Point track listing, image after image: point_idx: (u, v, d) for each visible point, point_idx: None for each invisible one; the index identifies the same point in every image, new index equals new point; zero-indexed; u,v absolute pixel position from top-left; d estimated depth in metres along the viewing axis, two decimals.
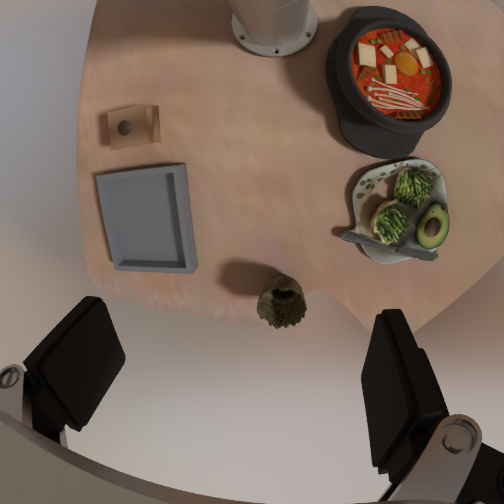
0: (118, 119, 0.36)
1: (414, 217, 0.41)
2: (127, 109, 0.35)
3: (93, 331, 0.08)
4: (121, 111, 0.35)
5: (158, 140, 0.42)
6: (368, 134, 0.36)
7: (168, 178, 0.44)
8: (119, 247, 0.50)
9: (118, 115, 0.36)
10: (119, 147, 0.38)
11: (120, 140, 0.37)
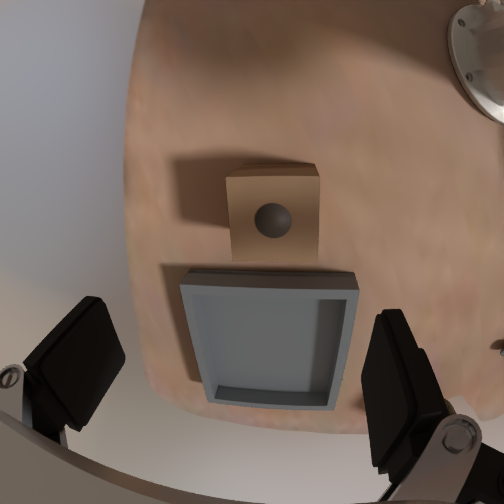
0: (258, 199, 0.19)
1: None
2: (283, 180, 0.18)
3: (93, 331, 0.08)
4: (266, 181, 0.18)
5: None
6: None
7: None
8: (214, 374, 0.33)
9: (257, 188, 0.18)
10: (256, 259, 0.21)
11: (258, 245, 0.20)
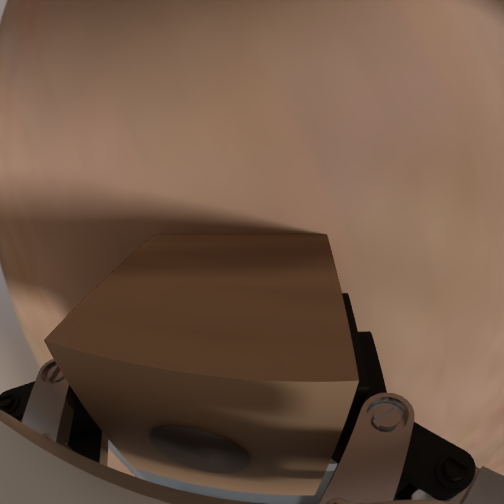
0: (143, 411, 0.05)
1: None
2: (211, 387, 0.04)
3: None
4: (151, 380, 0.04)
5: None
6: None
7: None
8: (172, 485, 0.19)
9: (129, 388, 0.05)
10: (177, 478, 0.07)
11: (176, 469, 0.06)
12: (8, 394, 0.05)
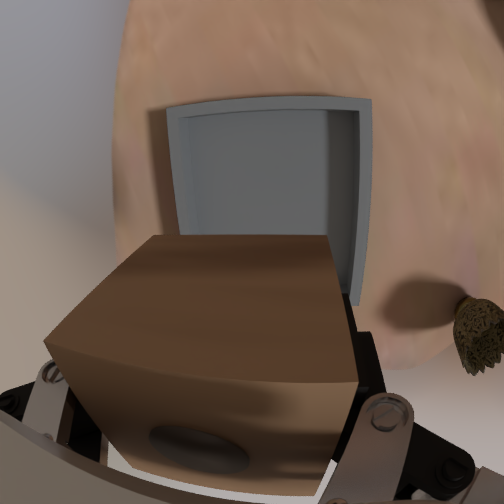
0: (143, 412, 0.05)
1: None
2: (210, 388, 0.04)
3: None
4: (150, 381, 0.04)
5: None
6: None
7: (331, 124, 0.21)
8: None
9: (129, 389, 0.05)
10: (177, 479, 0.07)
11: (175, 470, 0.06)
12: (8, 394, 0.05)
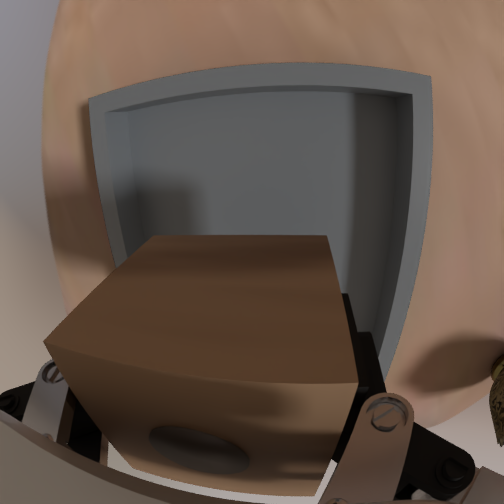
0: (143, 413, 0.05)
1: None
2: (210, 389, 0.04)
3: None
4: (151, 382, 0.04)
5: None
6: None
7: (360, 116, 0.12)
8: None
9: (129, 390, 0.05)
10: (177, 479, 0.07)
11: (175, 470, 0.06)
12: (8, 394, 0.05)
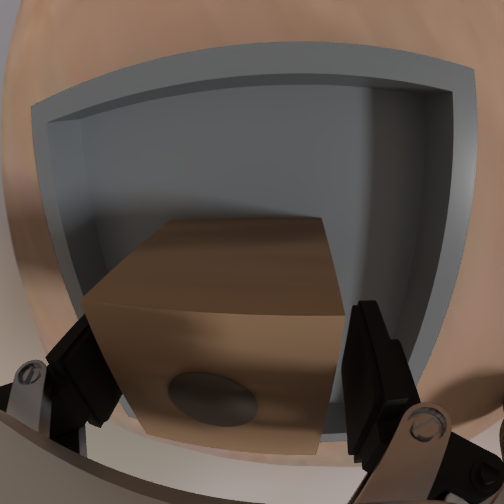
0: (166, 360, 0.06)
1: None
2: (227, 325, 0.06)
3: None
4: (177, 324, 0.06)
5: None
6: None
7: (378, 119, 0.09)
8: None
9: (156, 336, 0.06)
10: (189, 441, 0.08)
11: (189, 428, 0.08)
12: None
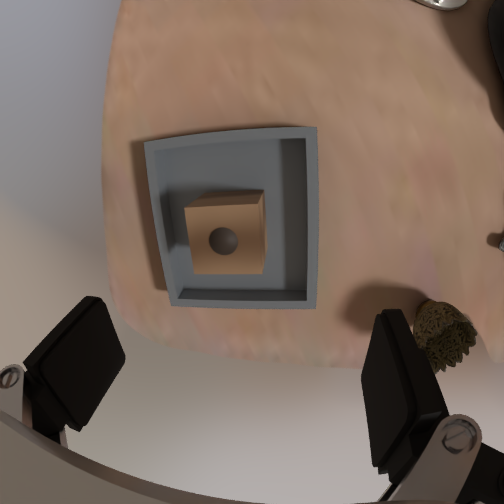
0: (210, 224, 0.23)
1: None
2: (229, 208, 0.23)
3: (93, 331, 0.08)
4: (215, 210, 0.23)
5: (266, 248, 0.29)
6: None
7: (284, 150, 0.26)
8: (178, 268, 0.32)
9: (208, 215, 0.23)
10: (212, 272, 0.25)
11: (213, 261, 0.25)
12: None
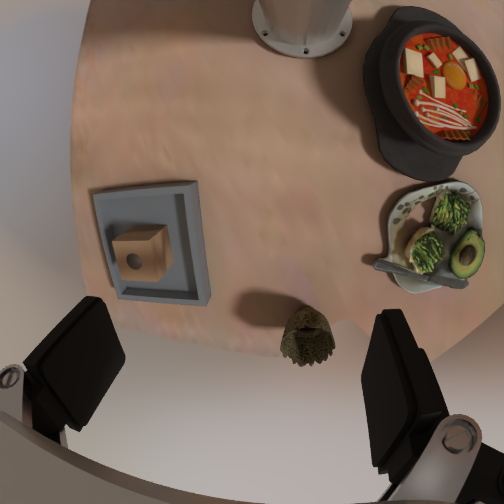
0: (126, 251, 0.36)
1: (449, 244, 0.35)
2: (134, 242, 0.36)
3: (93, 331, 0.08)
4: (127, 243, 0.36)
5: (171, 263, 0.42)
6: (409, 153, 0.30)
7: (177, 198, 0.39)
8: None
9: (124, 246, 0.36)
10: (131, 279, 0.38)
11: (130, 273, 0.38)
12: None
